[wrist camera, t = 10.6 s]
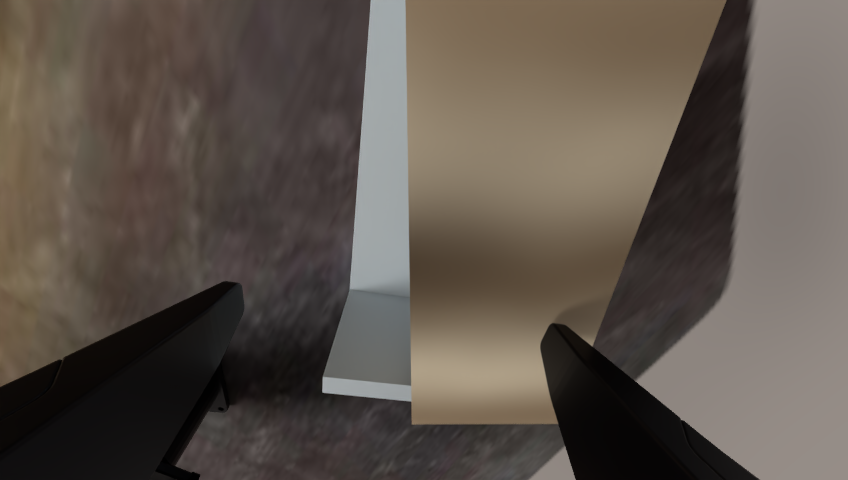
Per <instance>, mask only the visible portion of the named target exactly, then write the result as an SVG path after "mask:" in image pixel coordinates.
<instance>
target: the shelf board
mask: <svg viewBox="0 0 848 480" xmlns="http://www.w3.org/2000/svg"><path fill="white" fill-rule="evenodd" d="M725 3H726V0H405V5H406V71H407V137H408V203H409V268H410V334H411V400H412V424H558V421H557V418H556V415H555V412H554V408H553V405H552V402H551V398H550V394H549V390H548V385H547V380H546V375H545V370H544V365H543V361H542V356H541V351H540V343H541V340H542V338H543V336H544V334H545V332H546V330H547V328H548V326H549V325H550V324H551V323H559V324H564V325H566V326H568V327H569V328H570V329H571V330H573V331H574V332H575V333H576V334H577V335H579V336H580V337H581V338H582V339H584V340H585V341H586V342H587V343H589V344H590V345H591V346H593V343H594V341H595V338H596V336H597V333H598V330H599V328H600V325H601V323H602V320H603V318H604V315H605V312H606V310H607V307H608V305H609V302H610V300H611V297H612V294H613V292H614V289H615V287H616V284H617V281H618V279H619V276H620V274H621V271H622V269H623V266H624V263H625V261H626V258H627V256H628V253H629V251H630V248H631V245H632V243H633V240H634V238H635V235H636V232H637V230H638V227H639V225H640V222H641V220H642V217H643V214H644V212H645V209H646V207H647V204H648V202H649V199H650V196H651V194H652V191H653V189H654V186H655V183H656V181H657V178H658V176H659V173H660V171H661V168H662V165H663V163H664V160H665V158H666V155H667V153H668V150H669V147H670V145H671V142H672V140H673V137H674V134H675V132H676V129H677V127H678V124H679V122H680V119H681V116H682V114H683V111H684V109H685V106H686V104H687V101H688V98H689V96H690V93H691V91H692V88H693V85H694V83H695V80H696V78H697V75H698V73H699V70H700V67H701V65H702V62H703V60H704V57H705V55H706V52H707V49H708V47H709V44H710V42H711V39H712V36H713V34H714V31H715V29H716V26H717V24H718V21H719V18H720V16H721V13H722V11H723V8H724V6H725Z"/></svg>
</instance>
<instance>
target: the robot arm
mask: <svg viewBox="0 0 848 480" xmlns="http://www.w3.org/2000/svg"><path fill="white" fill-rule="evenodd" d="M243 312H244V299H243V291H242V286H241V284H240V283H236V282H228V281H224V282H221V283H219V284H217V285H215V286H213V287H211V288H209V289H206V290H204V291H202V292H200V293H198V294H196V295H194V296H192V297H190V298H188V299H185V300H183V301H181V302H179V303H177V304H175V305H173V306H171V307H169V308H166V309H164V310H162V311H160V312H158V313H156V314H154V315H152V316H150V317H148V318H145V319H143V320H141V321H139V322H137V323H135V324H133V325H131V326H129V327H127V328H124V329H122V330H120V331H118V332H116V333H114V334H112V335H110V336H108V337H105V338H103V339H101V340H99V341H97V342H95V343H93V344H91V345H89V346H87V347H84V348H82V349H80V350H78V351H76V352H74V353H72V354H70V355H68V356H65V357H64V358H63V360H57V361H55V362H53V363H51V364H48V365H46V366H44V367H42V368H40V369H38V370H36V371H34V372H32V373H29V374H27V375H25V376H23V377H21V378H18V379H16V380H14V381H12V382H10V383H8V384H5V385H3V386H1V387H0V480H199V477H200V474H198V473H195V472H192V473H191V472H188V471H186V470H183V469H181V468H178V467H176V466H175V465H176V464H177V462H178V460H179V459H180V457H181V455H182V454H183V452H184V450H185V449H186V447H187V445H188V444H189V442H190V440H191V439H192V437H193V436H194V434H195V432H196V431H197V429H198V427H199V426H200V424H201V422H202V421H203V419H204V417H205V416H206V414H207V412H208V411H211V412H222V413H223V412H226V411H227V410H228V408H229V400H228V396H227V391H226V386H225V381H224V377H223V372H222V367H221V363H220V362H221V360H222V358H223V356H224V353H225V351H226V349H227V347H228V345H229V343H230V340H231V338H232V336H233V334H234V332H235V330H236V328H237V325H238V323H239V321H240V319H241V317H242V315H243ZM540 351H541V356H542V361H543V365H544V370H545V375H546V380H547V385H548V390H549V394H550V398H551V402H552V405H553V408H554V412H555V415H556V418H557V421H558V424H559V428H560V431H561V434H562V437H563V440H564V444H565V447H566V450H567V453H568V456H569V459H570V463H571V466H572V469H573V472H574V475H575V479H576V480H759V479H758V478H757V477H755V476H754V475H753V474H751V473H750V472H749V471H747V470H746V469H745V468H743V467H742V466H741V465H739V464H738V463H737V462H735V461H734V460H733V459H731V458H730V457H729V456H727V455H726V454H725V453H723V452H722V451H721V450H720V449H718V448H717V447H716V446H715V445H713V444H712V443H711V442H709V441H708V440H707V439H706V438H704V437H703V436H702V435H701V434H699V433H698V432H697V431H696V430H695V429H693V428H692V427H691V426H690V425H688V424H687V423H686V422H685V421H683V420H681V419H680V418H679V417H678V416H677V415H676V414H675V413H674V412H672V411H671V410H670V409H669V408H667V407H666V406H665V405H663V404H662V403H661V402H660V401H659V400H657V399H656V398H655V397H654V396H653V395H651V394H650V393H649V392H648V391H646V390H645V389H644V388H643V387H641V386H640V385H639V384H638V383H637V382H635V381H634V380H633V379H632V378H630V377H629V376H628V375H627V374H625V373H624V372H623V371H622V370H621V369H619V368H618V367H617V366H616V365H614V364H613V363H612V362H611V361H609V360H608V359H607V358H606V357H605V356H603V355H602V354H601V353H600V352H598V351H597V350H596V349H595V348H593V347H592V346H591V345H590V344H589V343H587V342H586V341H585V340H584V339H582V338H581V337H580V336H579V335H577V334H576V333H575V332H574V331H573V330H571V329H570V328H569V327H568V326H566V325H564V324H559V323H551V324H550V325H549V326H548V328H547V330H546V332H545V334H544V336H543V338H542V340H541V343H540Z"/></svg>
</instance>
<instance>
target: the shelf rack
mask: <svg viewBox="0 0 848 480" xmlns="http://www.w3.org/2000/svg"><path fill="white" fill-rule="evenodd" d="M322 393H331V394H341V395H351V396H361V397H371V398H381V399H391V400H402V401H412V400H411V334H410V268H409V203H408V137H407V71H406V5H405V0H371V7H370V20H369V34H368V47H367V61H366V75H365V88H364V102H363V116H362V129H361V143H360V157H359V170H358V184H357V197H356V211H355V225H354V238H353V252H352V266H351V279H350V290H349V294H348V297H347V300H346V303H345V307H344V310H343V313H342V316H341V319H340V323H339V326H338V329H337V332H336V336H335V339H334V342H333V345H332V349H331V352H330V355H329V358H328V361H327V365H326V368H325V371H324V374H323V387H322Z"/></svg>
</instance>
